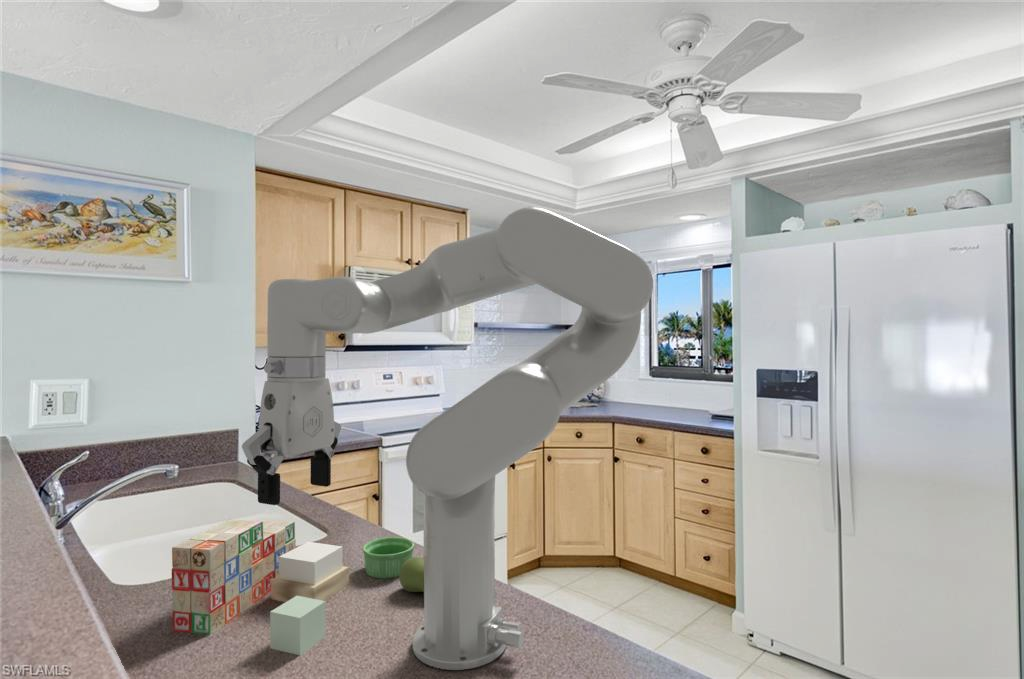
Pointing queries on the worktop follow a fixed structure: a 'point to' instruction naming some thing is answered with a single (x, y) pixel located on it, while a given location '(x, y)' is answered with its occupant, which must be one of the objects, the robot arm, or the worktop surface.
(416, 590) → the pear
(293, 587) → the tower base
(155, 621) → the worktop surface
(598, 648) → the worktop surface
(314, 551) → the tower top
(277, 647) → the sage cube
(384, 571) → the ramekin
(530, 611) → the worktop surface
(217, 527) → the stack of blocks
